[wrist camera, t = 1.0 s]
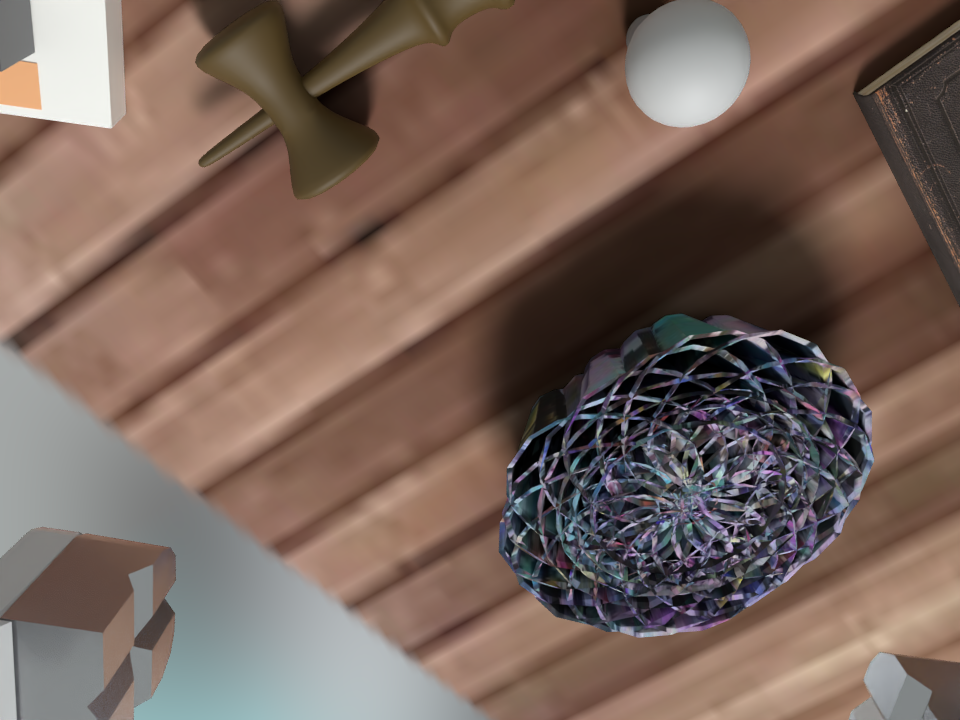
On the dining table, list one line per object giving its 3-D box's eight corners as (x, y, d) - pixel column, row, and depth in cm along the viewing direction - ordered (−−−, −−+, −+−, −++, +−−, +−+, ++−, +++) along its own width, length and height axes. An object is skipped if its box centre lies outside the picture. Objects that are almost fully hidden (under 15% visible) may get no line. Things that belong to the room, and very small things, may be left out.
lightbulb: (580, -1, 46) (630, 36, 37) (684, -40, 46) (761, -12, 37) (605, 102, 50) (657, 159, 40) (702, 67, 49) (778, 117, 40)
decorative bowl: (420, 455, 65) (419, 552, 57) (671, 198, 53) (715, 273, 45) (646, 578, 75) (672, 674, 67) (898, 385, 63) (967, 473, 55)
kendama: (533, 28, 48) (261, 214, 51) (442, -136, 43) (151, 81, 47) (553, 45, 42) (249, 250, 46) (452, -140, 38) (123, 104, 42)
